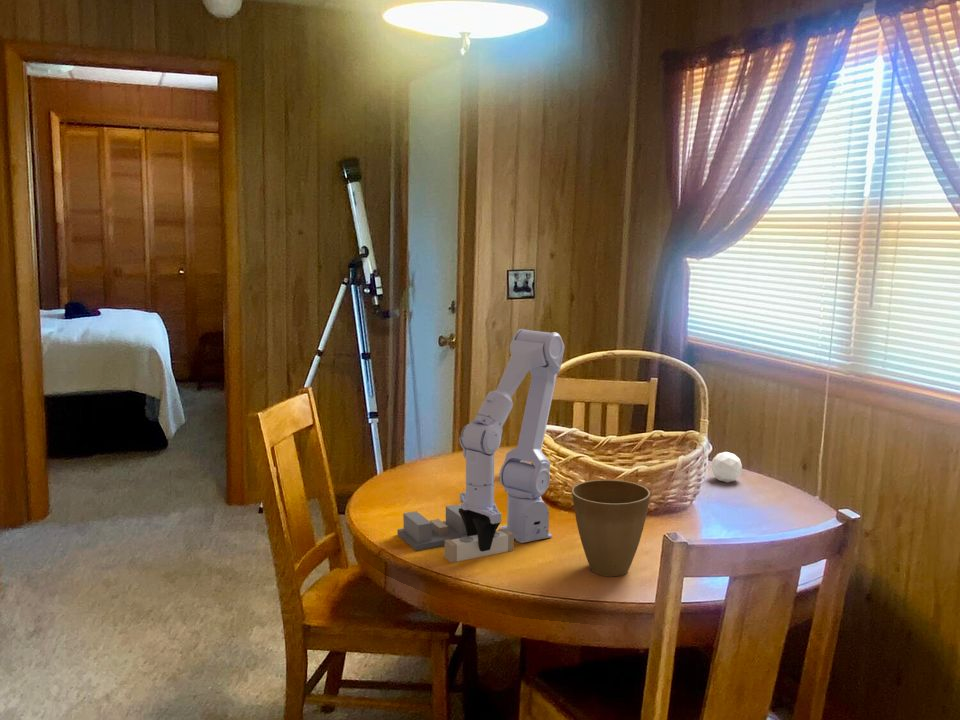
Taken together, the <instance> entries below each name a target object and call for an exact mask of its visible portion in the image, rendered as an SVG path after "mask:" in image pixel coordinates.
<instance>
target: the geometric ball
mask: <svg viewBox="0 0 960 720" xmlns="http://www.w3.org/2000/svg"><path fill="white" fill-rule="evenodd" d="M710 468H711V472H712V475H713V476H714V477H715V479H717V480H718V481H721V482H725V483H730V482H734V481H736V480H737V479H738V478H739V477H740V476H741V475H742V469H743V465H742V462H741V458H739V456H737V455H736V454H735V453H732V452H728V451H723V452H719V453H717V454H716V455H715V456H714V457H713V458H712V461H711V465H710Z"/></svg>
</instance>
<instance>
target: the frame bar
mask: <svg viewBox="0 0 960 720" xmlns="http://www.w3.org/2000/svg"><path fill="white" fill-rule="evenodd" d="M514 540H515V539H514V534H513V533H512V532H510V531H509V530H507V529H502V530H500V529H499V530H496V532H495V534H494V537H493V541H492V545H491V548H490V550H487V551H480V549H479V544H478V535H473V536H465V537H461V538H457V539H452V540H450V539H448V540H445V546H444V558H445V559H446V560H447V561H448V562H450V563H451V564H453V563H457V562H462V561H467V560H472V559H477V558H483V557H486V556H491V555H496V554H500V553H501V554H502V553H506V552H511V551H512V552H513V551H514V550H515V549H514V546H515V545H514Z"/></svg>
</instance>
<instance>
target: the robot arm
mask: <svg viewBox="0 0 960 720" xmlns="http://www.w3.org/2000/svg"><path fill="white" fill-rule="evenodd" d="M563 341H564V340H563V339H562V336H561V335H560V333H558V332H555V331H553V332H548V331H538V330H531V329H526V328H519V329H518V330H517V331H516V332H515V333H514V335H513V336H512V341H511V342H510V344H509V351H510V355H511V356H510V357H509V360H508V361H507V362H508V363H507V365H506V366H505V369H504V371H503V374H502V375H501V378H500V380H499V383H498V385H497V387H496V389H495V390H491V391H489V392H488V393H487V395H486V396H485V398H484V400H483V402H482V404H481V406H480V407H479V409H478V412H477V414H476V415H475V416H474V419H473V420H472V421H471V422H469V423H467V424H466V425H464V427H463V428H462V430H461V434H460V437H459V438H458V439H459V445H460V447H461V449H462V450H463V451H462V452H463V453H462V454H463V457H464V458H465V491H464V492H459V503H460V506H461V508H460V509H459V513H460V515H461V517H462V519H463V522H464V525H465V528H466V532H467V536H473V535H478V544H479V549H480V551H487V550H490V548H491V545H492V541H493V537H494V534H495V532H496V531H498V529H499V531H500V530H502V529H507V530H509V531H510V532H512V533H513V534H514V540H515V541H517V542H518V543H520V544H524V543H529V542H533V541H540V540H544V539H549V538H552V537H553V534H551V533H550V532H549V530H550V529H549V528H550V527H549V526H550V523H549V522H550V511H549V509H550V508H549V506H548V505H547V504H546V503H545V501H544V500H543V499H542V496H543V495H545V493H546V491H547V490H548V488H549V486H550V482H551V481H550V480H551V476H550V468H551V461H550V460H549V459H548V457H547V456H546V455H545V454H544V452H543V445H544V439H545V435H546V430H547V427H548V426H547V425H548V420H549V415H550V411H551V406H552V400H553V396H554V391H555V385H556V381H557V377H558V373H560V372H561V366H562V362H563V359H564V358H563V357H564V353H565V348H566V346H565V343H564V342H563ZM528 372H529V373H530V375H531V379H530V383H529V384H530V385H529V388H528V394H527V399H526V403H525V408H524V413H523V417H522V420H521V421H522V423H521V427H520V432H519V436H518V441H517V445H516V446H515V447H514V448H512V449H511V450H510V451H508V452H507V453H505V455H506V456H505V459H504V462H503V463H502V466H501V467H500V469H499V477H498V478H499V481H500V485H501V486H502V487H504V492H505V493H507V506H506V507H507V508H506V509H507V510H506V511H507V515H506V516H507V517H506V525H502V526H501V523H502V512H500V511H499V510H498V507H497V504H496V502H495V453H496V452H497V451H498V449H499V447H501V441H502V434H503V432H504V431H503V430H504V429H503V426H504V424H505V423H506V421H507V419H508V417H509V415H510V413H511V411H512V409H513V407H514V403H513V400H512V397H513V395H514V394H515V392H516V391H517V390H518V388H519V387H520V385H521V383H522V382H523V381H524V379H525V377H526V376H527V374H528ZM522 460H524V461H529V462H532V463H533V464H534V465H532V464H528V463H523V462H521V461H522Z"/></svg>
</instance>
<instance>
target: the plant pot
mask: <svg viewBox="0 0 960 720" xmlns="http://www.w3.org/2000/svg"><path fill="white" fill-rule="evenodd" d="M571 495H572V503H573V509H574V510H573V511H574V514H575V520H576V526H577V531H578V535H579V538H580V542H581V544H582V548H583V552H584V554H585V558H586V560H587V563H588V565H589V568H590V570H591V571H592V572H593V573H595V574H597V575H599V576H603V577H619V576H623V575H626V574H627V573H628V572H629V570H630V568H631V566H632V563H633V560H634V559H635V555H636V553H637V550H638V547H639V545H640V540H641V538H642V533H643V531H644V527H645V523H646V520H647V514H648V509H649V505H650V497H651V492H650V490H649V489H648V488H647V487H645V486H644V485H641V484H638V483H636V482H631V481H626V480H618V479H596V480H594V479H593V480H587V481H583V482H580V483H578V484H576V485H574V486H573V487H572V489H571Z"/></svg>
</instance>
